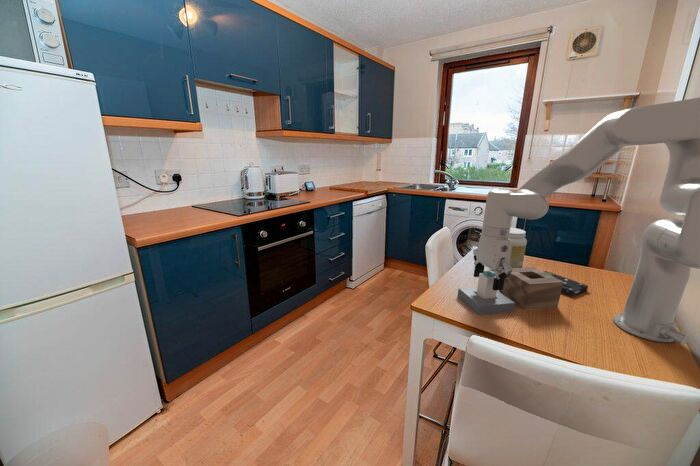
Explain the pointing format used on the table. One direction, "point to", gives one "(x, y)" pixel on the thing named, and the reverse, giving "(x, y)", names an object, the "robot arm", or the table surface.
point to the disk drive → (570, 286)
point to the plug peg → (486, 285)
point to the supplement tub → (517, 247)
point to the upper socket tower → (532, 289)
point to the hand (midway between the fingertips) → (487, 282)
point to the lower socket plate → (485, 302)
